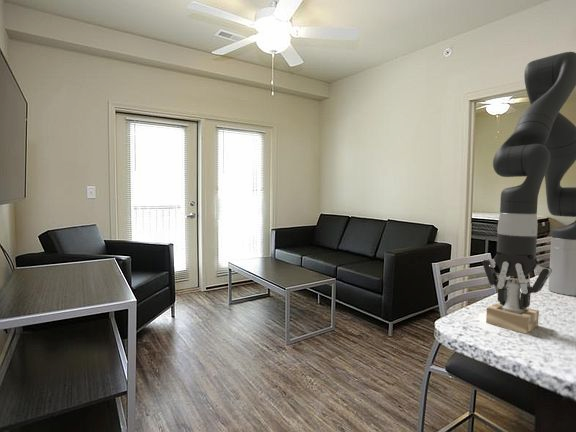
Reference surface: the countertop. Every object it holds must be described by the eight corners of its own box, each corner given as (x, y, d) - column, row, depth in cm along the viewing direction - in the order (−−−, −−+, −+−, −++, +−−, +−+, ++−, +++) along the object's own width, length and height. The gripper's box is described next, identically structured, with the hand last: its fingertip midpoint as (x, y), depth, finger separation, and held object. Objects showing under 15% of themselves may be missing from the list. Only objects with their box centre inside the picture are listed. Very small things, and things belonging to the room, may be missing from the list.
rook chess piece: (528, 318, 76) (530, 283, 75) (506, 317, 76) (507, 282, 76) (518, 312, 80) (520, 279, 80) (498, 310, 81) (499, 278, 80)
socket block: (499, 315, 84) (500, 301, 84) (538, 325, 78) (538, 310, 77) (486, 322, 79) (486, 307, 79) (525, 333, 73) (526, 317, 73)
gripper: (560, 235, 74) (555, 311, 75) (490, 229, 85) (486, 296, 86) (549, 237, 69) (544, 318, 70) (477, 231, 80) (473, 301, 81)
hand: (512, 306), depth 78 cm, fingers closed on rook chess piece, 3 cm apart
